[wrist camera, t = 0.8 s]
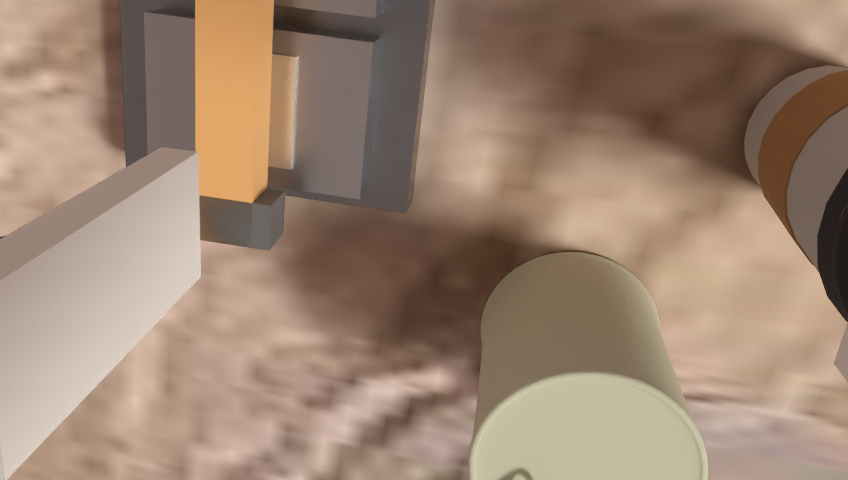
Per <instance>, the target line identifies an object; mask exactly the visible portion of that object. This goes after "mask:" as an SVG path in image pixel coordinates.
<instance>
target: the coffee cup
mask: <svg viewBox="0 0 848 480" xmlns="http://www.w3.org/2000/svg"><path fill="white" fill-rule="evenodd" d="M744 148H745V159H746V162H747V164H748V167H749V170H750V173H751V174H752V176H753V177H754V179H755V180H756V182H757V183H758V185H759V186H760V187H761V189H762V191H763V194H764V197H765V198H766V200H767V201H768V202H769V204H770V205H771V207H772V208H773V210H774V211H775V213H776V214H777V216H778V217H779V219H780V220H781V222H782V223H783V225H784V226H785V228H786V229H787V231H788V232H789V234H790V235H791V237H792V238H793V240H794V241H795V242H796V244H797V245H798V246H799V248H800V249H801V250H802V252H803V253H804V254H805V256H806V257H807V258H808V260H809V261H810V263H811V264H812V265H814V266H815V267H816V269H817V270H818V272H819V273H820V276H821V279H822V282H823V285H824V288H825V291H826V294H827V296H828V298H829V299H830V300H831V302H832V303H833V304H834V306H835V307H836V308H837V310H838V311H839V312H840V314H841V315H842V316H843V318H844V319H845V320H846V321H847V322H848V67H839V66H821V67H815V68H809V69H806V70H803V71H801V72H798V73H796V74H794V75H791V76H789V77H787V78H786V79H784V80H783V81H781V82H780V83H779V84H777V85H776V86H774V87H773V88H772V89H770V91H769V92H768V93H767V94H766V95H765V96H764V97H763V99H762V100H761V101H760V102H759V103H758V104H757V106H756V108H755V110H754V112H753V114H752V116H751V117H750V119H749V121H748V125H747V129H746V134H745V138H744Z"/></svg>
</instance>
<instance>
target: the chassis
mask: <svg viewBox="0 0 848 480" xmlns="http://www.w3.org/2000/svg"><path fill="white" fill-rule="evenodd" d="M434 2H435V0H274V14H273V42H272V69H271V97H270V124H269V152H268V180H267V188H268V189H275V190H282V191H285V195H287V196H294V197H301V198H307V199H314V200H321V201H328V202H334V203H341V204H348V205H354V206H361V207H368V208H375V209H381V210H388V211H395V212H401V213H407V211H408V208H409V206H410V204H411V201H412V195H413V187H414V178H415V169H416V160H417V151H418V143H419V134H420V125H421V116H422V107H423V99H424V90H425V81H426V72H427V63H428V55H429V46H430V37H431V28H432V19H433V11H434ZM120 25H121V51H122V77H123V103H124V129H125V156H126V167H128V166H129V165H131V164H133V163H135V162H136V161H138V160H140V159H142V158H143V157H145V156H147V155H149V154H150V153H152V152H154V151H156V150H157V149H159V148H161V147H164V148H172V149H180V150H188V151H195V0H120Z"/></svg>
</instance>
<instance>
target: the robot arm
mask: <svg viewBox="0 0 848 480" xmlns="http://www.w3.org/2000/svg"><path fill="white" fill-rule="evenodd" d="M200 277H201V258H200V209H199V159H198V152H196V151H188V150H180V149H172V148H164V147H161V148H159V149H157V150H156V151H154V152H152V153H150V154H149V155H147V156H145V157H143V158H142V159H140V160H138V161H136V162H135V163H133V164H131V165H129V166H128V167H126V168H124V169H122V170H121V171H119V172H117V173H115V174H114V175H112V176H110V177H108V178H106V179H105V180H103V181H101V182H99V183H98V184H96V185H94V186H92V187H91V188H89V189H87V190H85V191H84V192H82V193H80V194H78V195H77V196H75V197H73V198H71V199H70V200H68V201H66V202H64V203H63V204H61V205H59V206H57V207H56V208H54V209H52V210H50V211H49V212H47V213H45V214H43V215H42V216H40V217H38V218H36V219H35V220H33V221H31V222H29V223H28V224H26V225H24V226H22V227H20V228H19V229H17V230H15V231H13V232H12V233H10V234H8V235H6V236H3V237H0V480H7V479H8V478H9V477H10V476H11V475H12V474H13V473H14V472H15V470H16V469H17V468H18V467H19V466H20V465H21V464H22V463H23V462H24V461H25V460H26V459H27V458H28V457H29V456H30V455H31V454H32V453H33V452H34V451H35V450H36V449H37V447H38V446H39V445H40V444H41V443H42V442H43V441H44V440H45V439H46V438H47V437H48V436H49V435H50V434H51V433H52V432H53V431H54V430H55V429H56V428H57V427H58V426H59V424H60V423H61V422H62V421H63V420H64V419H65V418H66V417H67V416H68V415H69V414H70V413H71V412H72V411H73V410H74V409H75V408H76V407H77V406H78V405H79V404H80V402H81V401H82V400H83V399H84V398H85V397H86V396H87V395H88V394H89V393H90V392H91V391H92V390H93V389H94V388H95V387H96V386H97V385H98V384H99V383H100V382H101V381H102V379H103V378H104V377H105V376H106V375H107V374H108V373H109V372H110V371H111V370H112V369H113V368H114V367H115V366H116V365H117V364H118V363H119V362H120V361H121V360H122V359H123V358H124V356H125V355H126V354H127V353H128V352H129V351H130V350H131V349H132V348H133V347H134V346H135V345H136V344H137V343H138V342H139V341H140V340H141V339H142V338H143V337H144V336H145V335H146V333H147V332H148V331H149V330H150V329H151V328H152V327H153V326H154V325H155V324H156V323H157V322H158V321H159V320H160V319H161V318H162V317H163V316H164V315H165V314H166V313H167V312H168V310H169V309H170V308H171V307H172V306H173V305H174V304H175V303H176V302H177V301H178V300H179V299H180V298H181V297H182V296H183V295H184V294H185V293H186V292H187V291H188V290H189V289H190V287H191V286H192V285H193V284H194V283H195V282H196V281H197V280H198V279H199V278H200ZM834 364H835V366H836V367H837V368H838V370H839V371H840V372H841V374H842V375H843V376H844V378H845V379H846V380H847V382H848V323H847V326H846V329H845V332H844V335H843V338H842V341H841V344H840V347H839V349H838V352H837V355H836V358H835V361H834Z"/></svg>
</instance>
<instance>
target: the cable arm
mask: <svg viewBox="0 0 848 480" xmlns="http://www.w3.org/2000/svg"><path fill="white" fill-rule="evenodd" d="M273 14H274V0H195V151H196V152H198V159H199V209H200V240H204V241H210V242H217V243H223V244H230V245H236V246H243V247H249V248H256V249H262V250H270V249H271V248H272V247H273V245H274V244H275V243H276V242H277V241H278V239H279V238H280V237H281V236H282V234H283V227H284V205H285V191H282V190H275V189H268V188H267V180H268V152H269V124H270V97H271V69H272V42H273Z"/></svg>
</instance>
